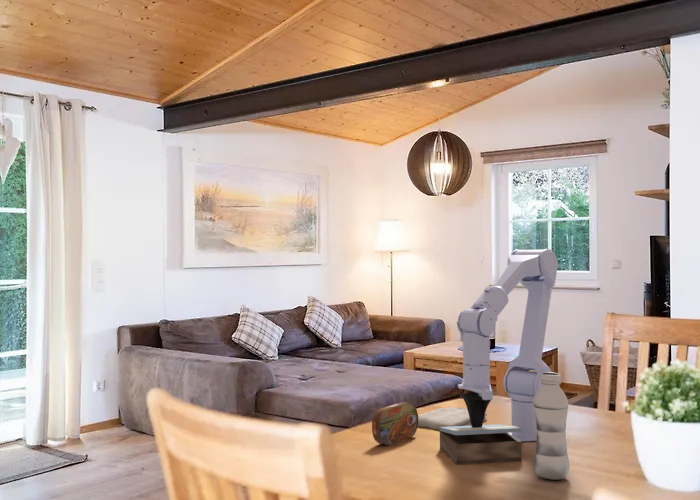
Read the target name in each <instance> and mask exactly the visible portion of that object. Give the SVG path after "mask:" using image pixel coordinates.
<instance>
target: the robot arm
mask: <svg viewBox="0 0 700 500" xmlns="http://www.w3.org/2000/svg"><path fill="white" fill-rule="evenodd" d="M558 265H559V262H558V260H557V257H556V255H555V252H553V250H552V249H549V248H545V249H518V248H517V249H514V250H512V252H511V253H510V255H509V256H508V257H507V267H506V268H505V270H504V271H503V273H502V274H501V276H500V277H499V279H498V280H497V282H496V283H495V285H490V286H486V287H485V288H484V289H483V292H482V293H481V294H480V295H479V297H478V298H477V299H476V300H475V302H474V303H473V304H472V305H471V307H470V308H464V309H463V311H462V310H461V312H460V313H459V315H458V318H457V321H456V327H457V330H458V332H459V336H460V337H459V338H460V340H461V343H462V376H463V377H462V379H461V383H460V384H459V383H458V384H457V389H459V390H467V391H468V393H467V392H466V393H462V394H461V397H462V399H463V401H464V402H465V405H466V408H467V410H468V413H469V418H470V423H471V426H472V427H473V428H474V427H482V425H484V422H485V421H484V416H485V413H487V409H488V406H489V404H490V402H491V401H493V400H494V397H493V396H494V395H493V394H494V392H493V390H492V385H491V362H490V360H491V357H490V356H491V355H490V353H491V352H490V350H491V349H490V348H491V347H490V346H491V345H490V344H491V343H490V341H491V340H490V338H491V337H490V336H491V335H492V334H493V333H494V331H495V329H496V326H497V325H496V324H497V321H498V318H499V315H500V314H501V312H502V311H503V310H504V309H505V307H506V306H507V305H508V303H509V294H510V293H511V292H512V291H513V290H514V289H515V288H516V287H517V286H518V284H521V286H524V287H525V288H526V289H527V291H528V293H527V300H526V301H527V302H526V305H525V313H524V314H525V315H524V320H523V326H522V332H521V338H520V339H521V340H520V345H519V352H518V355H517V356H516V357H514V358H513V359H511V361H509V362H508V365H507V366H508V367H507V369H506V372H505V374H504V376H503V381H502V384H503V388H504V391H505V393H506V394H507V395H508V399H511V405H510V406H511V426H515V427H518V428H521V432H513V433H509V434H510V435H512V436H513V437H515V438H517V439H518V440H520V441H521V442H536V439H537V432H536V430H537V428H536V419H535V412H534V406H533V398H534V395H535V394H536V392H537V391H538V390H539V388H540V387H541V385H542V384H541V383H540V380H541V373H544V372H552V370H551V368H550V367H549V366H548V365H547V364H546V362H544V360H543V359H542V357H543V353H544V352H543V351H544V345H545V337H546V330H547V323H548V317H549V310H550V303H551V298H552V297H551V295H552V290H553V289H552V288H553V287H555V285H556V279H557V272H558ZM485 417H486V416H485Z"/></svg>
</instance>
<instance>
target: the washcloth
mask: <svg viewBox="0 0 700 500" xmlns="http://www.w3.org/2000/svg"><path fill="white" fill-rule="evenodd" d="M487 416H488V413H487V412H485V416H484V421H483V422H486V421H488V418H487ZM452 426H471V423H470V418H469V413H468V409H466V408H463V407H454V406H449V407H446V408H444V407H441V408H440V407H437V408H435V409H434V410H430V411H426V412H424V413H421V414H418V427H420V428H428V429H433V430H437V431H440V427H452Z"/></svg>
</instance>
